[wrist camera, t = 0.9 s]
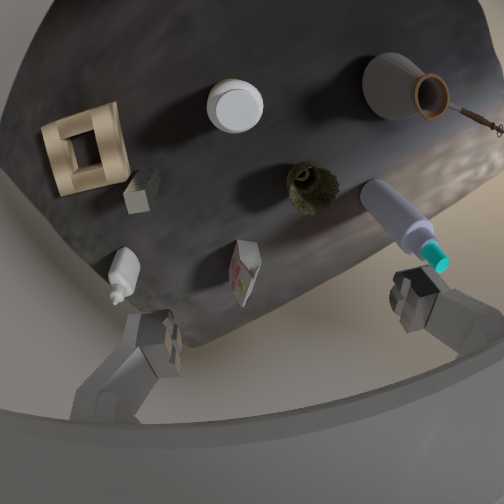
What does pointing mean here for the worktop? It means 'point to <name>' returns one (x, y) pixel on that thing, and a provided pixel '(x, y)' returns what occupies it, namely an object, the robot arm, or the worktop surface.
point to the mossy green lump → (311, 187)
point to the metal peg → (142, 190)
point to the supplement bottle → (234, 105)
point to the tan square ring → (109, 147)
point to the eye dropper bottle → (123, 274)
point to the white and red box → (244, 269)
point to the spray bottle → (403, 223)
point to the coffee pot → (408, 91)
